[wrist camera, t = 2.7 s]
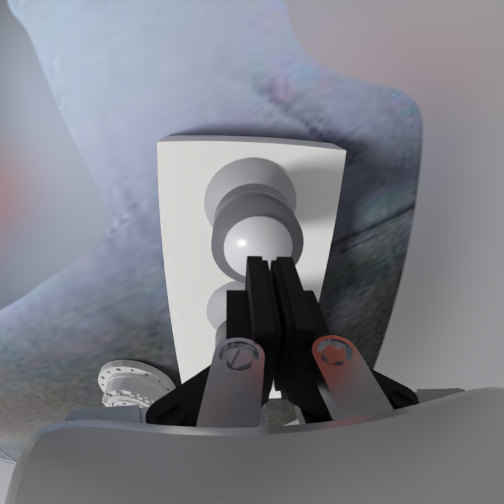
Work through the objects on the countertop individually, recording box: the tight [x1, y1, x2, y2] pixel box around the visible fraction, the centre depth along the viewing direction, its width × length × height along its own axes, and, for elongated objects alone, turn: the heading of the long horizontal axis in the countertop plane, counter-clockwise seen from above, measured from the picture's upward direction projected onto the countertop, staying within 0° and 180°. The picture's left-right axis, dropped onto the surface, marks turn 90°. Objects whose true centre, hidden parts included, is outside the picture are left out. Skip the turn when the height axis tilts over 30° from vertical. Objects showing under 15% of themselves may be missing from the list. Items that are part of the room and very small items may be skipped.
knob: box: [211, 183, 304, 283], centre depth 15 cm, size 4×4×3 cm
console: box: [157, 135, 346, 398], centre depth 25 cm, size 26×12×3 cm, turn 177°
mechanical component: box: [98, 360, 176, 408], centre depth 31 cm, size 10×4×10 cm
